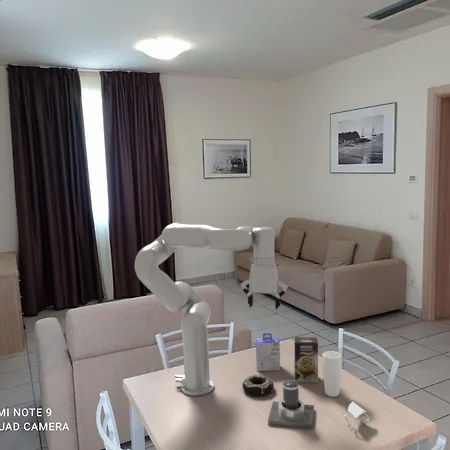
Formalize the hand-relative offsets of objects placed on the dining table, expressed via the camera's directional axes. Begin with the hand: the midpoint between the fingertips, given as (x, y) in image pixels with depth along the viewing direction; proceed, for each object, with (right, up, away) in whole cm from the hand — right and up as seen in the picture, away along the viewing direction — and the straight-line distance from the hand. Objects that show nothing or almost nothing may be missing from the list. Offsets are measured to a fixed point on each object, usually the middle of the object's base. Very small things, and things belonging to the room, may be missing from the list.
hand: (263, 307), depth 158 cm
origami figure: (+28, -34, -19) cm, 48 cm away
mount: (+8, -34, -15) cm, 38 cm away
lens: (+8, -32, -15) cm, 36 cm away
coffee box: (+18, -31, +12) cm, 37 cm away
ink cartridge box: (+4, -30, +22) cm, 37 cm away
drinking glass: (+25, -32, -1) cm, 40 cm away
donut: (-2, -32, +4) cm, 33 cm away
